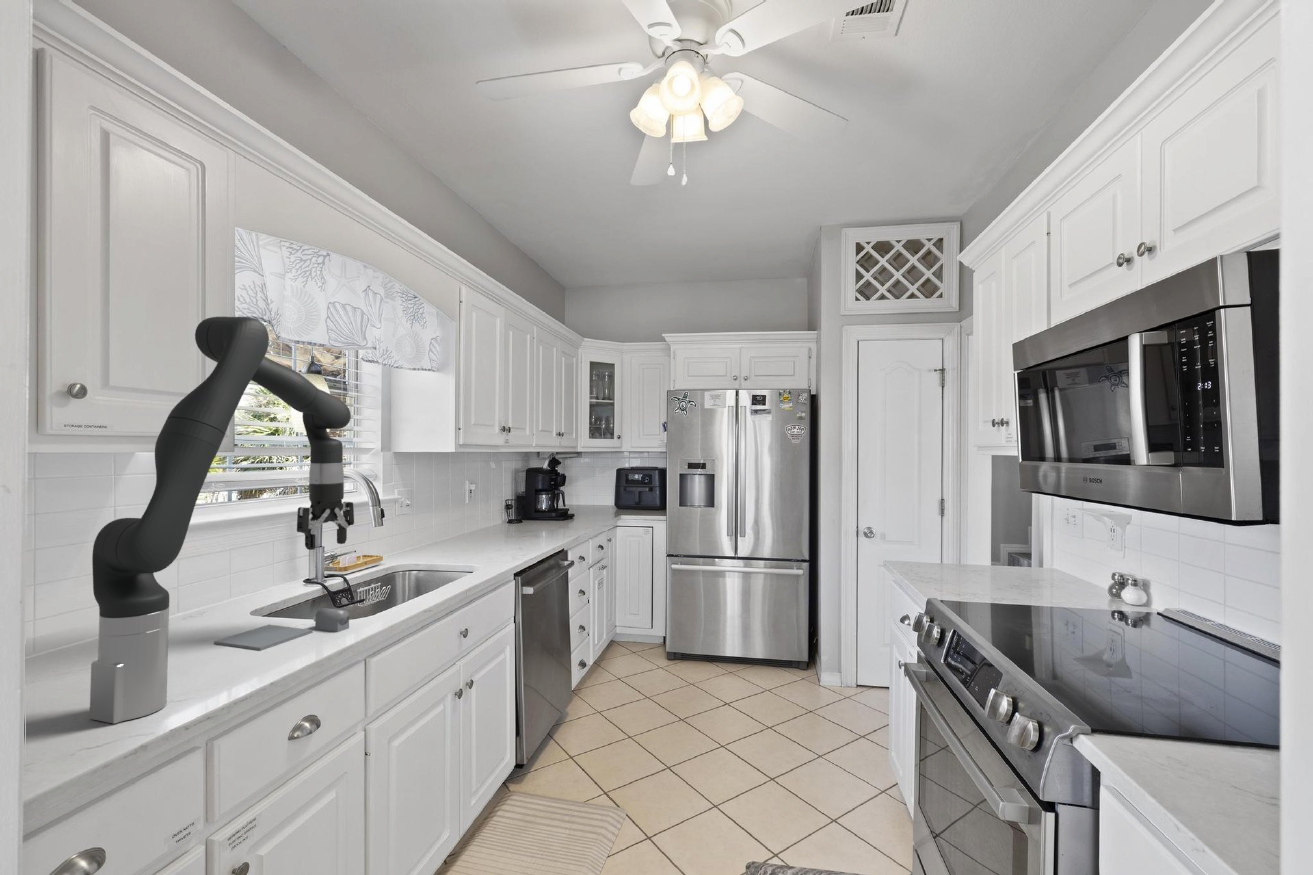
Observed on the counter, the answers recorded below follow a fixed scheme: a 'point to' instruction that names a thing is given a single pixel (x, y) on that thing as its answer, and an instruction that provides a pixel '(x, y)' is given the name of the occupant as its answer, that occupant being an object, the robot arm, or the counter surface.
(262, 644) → the slate mat
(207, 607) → the counter surface
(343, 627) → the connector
